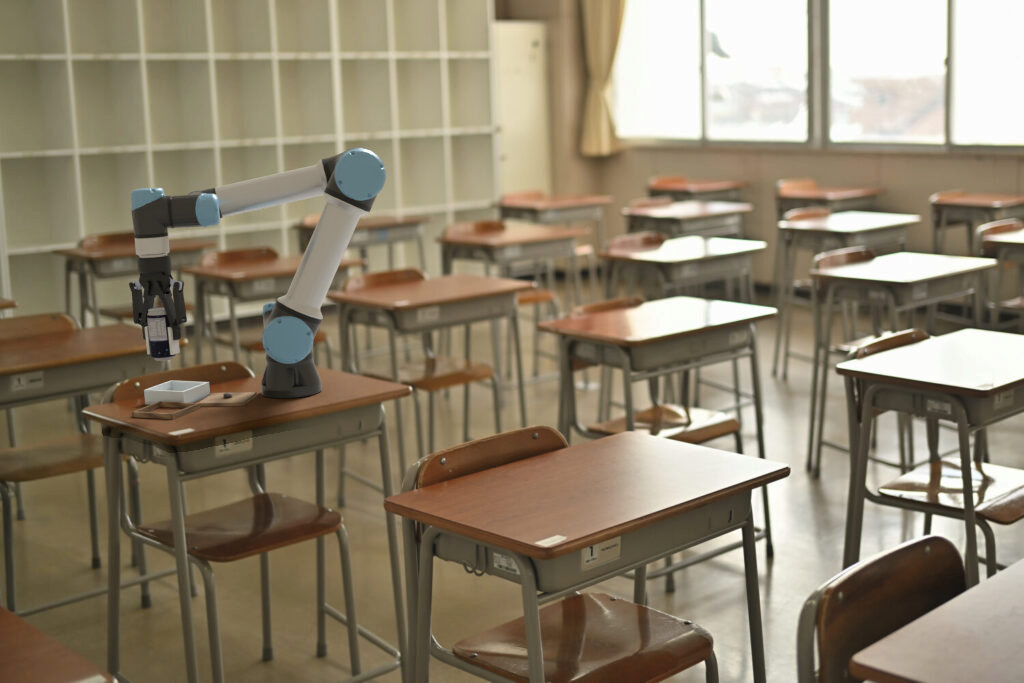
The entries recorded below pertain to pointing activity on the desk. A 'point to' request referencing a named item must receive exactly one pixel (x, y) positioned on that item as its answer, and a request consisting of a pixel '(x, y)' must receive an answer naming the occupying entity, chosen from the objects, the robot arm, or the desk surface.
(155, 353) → the beverage can
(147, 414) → the frame
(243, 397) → the lid
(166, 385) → the tray
